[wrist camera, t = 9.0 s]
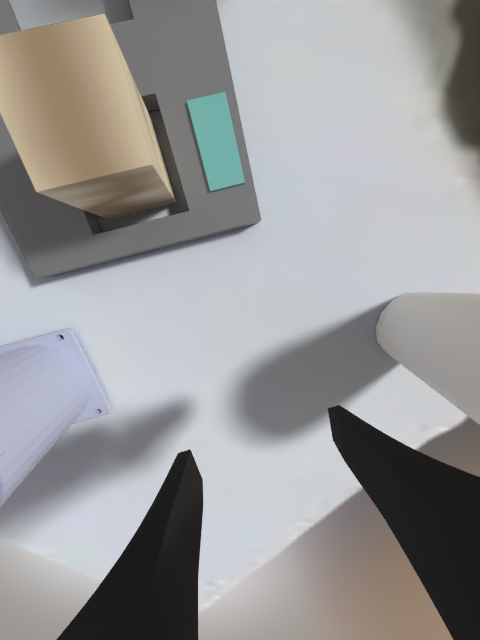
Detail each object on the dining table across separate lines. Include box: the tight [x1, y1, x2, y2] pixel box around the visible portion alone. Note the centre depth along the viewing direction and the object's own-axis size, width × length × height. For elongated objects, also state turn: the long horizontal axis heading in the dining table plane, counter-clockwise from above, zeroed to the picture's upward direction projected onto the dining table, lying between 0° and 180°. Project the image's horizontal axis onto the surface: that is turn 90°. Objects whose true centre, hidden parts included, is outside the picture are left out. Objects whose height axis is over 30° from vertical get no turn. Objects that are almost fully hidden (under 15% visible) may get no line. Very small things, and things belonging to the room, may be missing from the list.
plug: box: [0, 14, 177, 220], centre depth 12 cm, size 5×5×7 cm
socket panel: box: [0, 0, 261, 278], centre depth 13 cm, size 16×20×2 cm
